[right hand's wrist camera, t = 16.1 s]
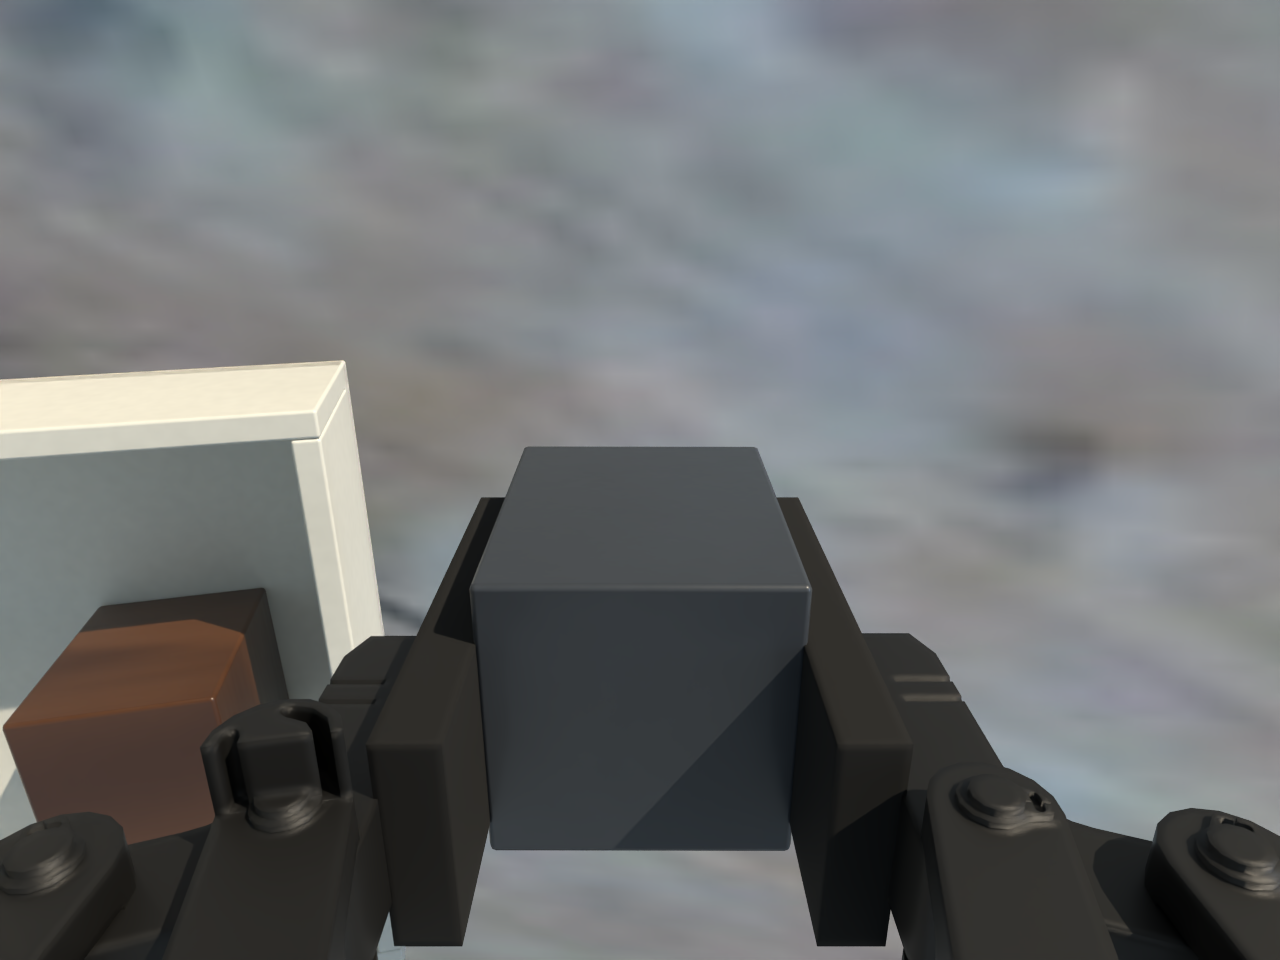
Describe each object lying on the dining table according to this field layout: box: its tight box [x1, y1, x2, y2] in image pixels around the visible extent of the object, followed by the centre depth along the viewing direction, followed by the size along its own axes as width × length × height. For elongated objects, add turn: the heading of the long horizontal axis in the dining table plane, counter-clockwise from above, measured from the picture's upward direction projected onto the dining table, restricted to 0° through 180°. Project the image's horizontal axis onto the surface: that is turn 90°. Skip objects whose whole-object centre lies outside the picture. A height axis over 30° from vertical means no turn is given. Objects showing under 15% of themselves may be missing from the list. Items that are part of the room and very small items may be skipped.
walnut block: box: [3, 588, 289, 845], centre depth 20 cm, size 4×4×5 cm
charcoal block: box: [469, 447, 812, 851], centre depth 13 cm, size 4×4×5 cm
